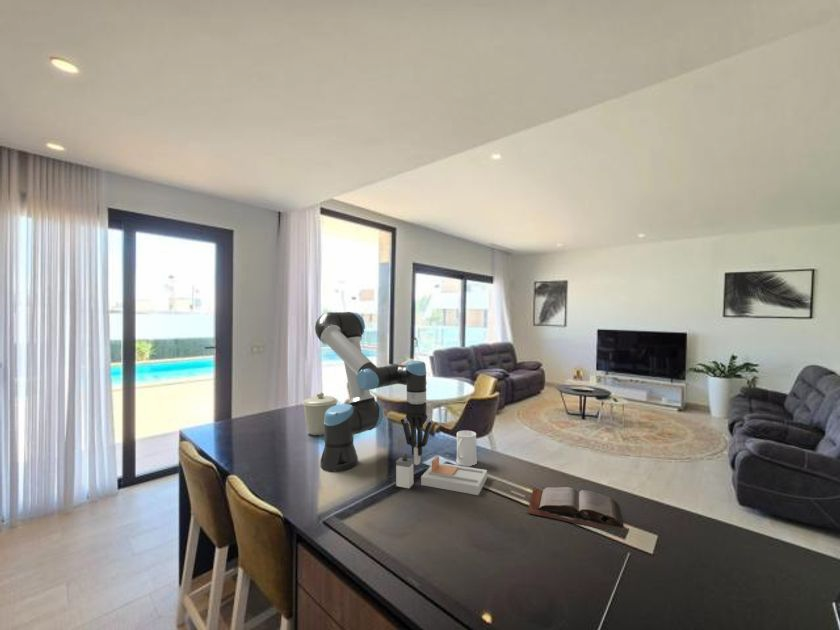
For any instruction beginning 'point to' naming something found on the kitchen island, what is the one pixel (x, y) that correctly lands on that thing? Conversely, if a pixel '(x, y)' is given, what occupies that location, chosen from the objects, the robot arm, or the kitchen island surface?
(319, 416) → the canister
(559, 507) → the book
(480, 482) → the white tray
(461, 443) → the mug
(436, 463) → the shutter
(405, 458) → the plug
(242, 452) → the kitchen island surface
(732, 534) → the kitchen island surface
